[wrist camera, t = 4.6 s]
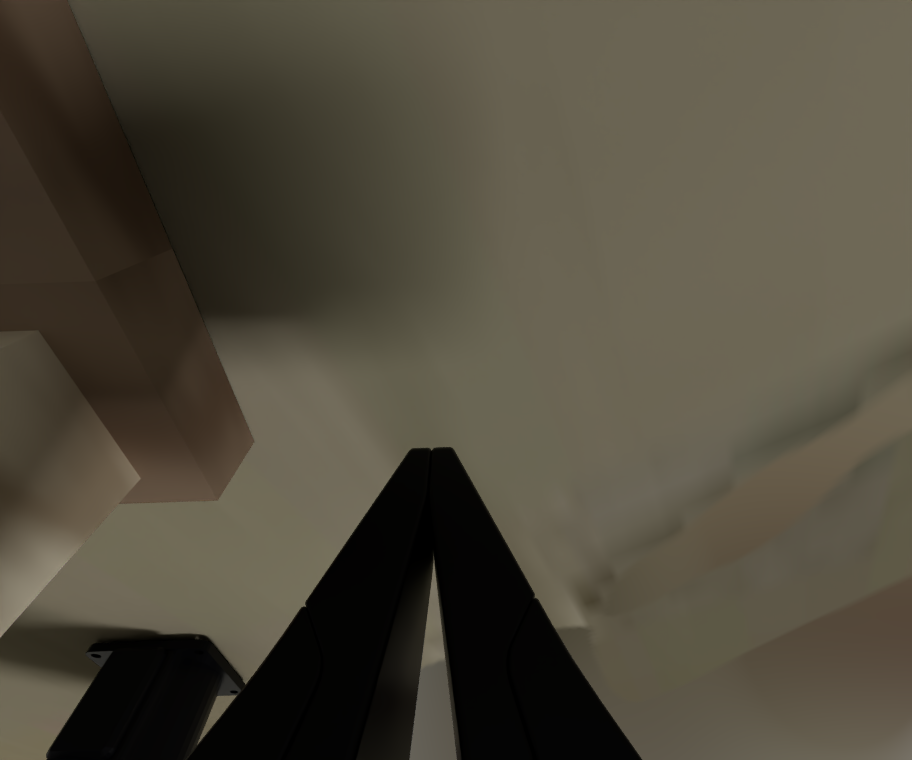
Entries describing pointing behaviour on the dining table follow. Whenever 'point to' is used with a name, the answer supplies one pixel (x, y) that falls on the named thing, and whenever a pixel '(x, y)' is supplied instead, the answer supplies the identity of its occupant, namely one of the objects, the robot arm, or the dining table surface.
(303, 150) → the dining table surface
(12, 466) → the birch block
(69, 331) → the trap deck
